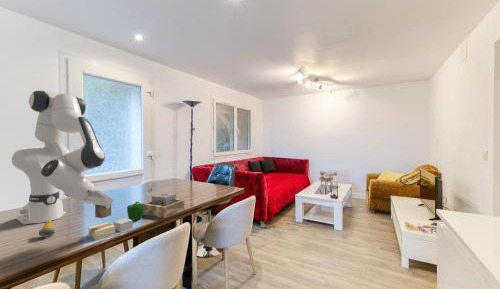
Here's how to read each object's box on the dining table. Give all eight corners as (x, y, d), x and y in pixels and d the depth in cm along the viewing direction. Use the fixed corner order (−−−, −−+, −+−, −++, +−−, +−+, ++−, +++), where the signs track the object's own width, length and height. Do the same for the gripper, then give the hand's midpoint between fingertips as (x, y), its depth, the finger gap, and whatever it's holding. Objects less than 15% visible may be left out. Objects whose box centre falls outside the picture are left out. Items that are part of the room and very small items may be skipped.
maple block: (88, 236, 103) (88, 227, 102) (107, 230, 109) (107, 222, 109) (95, 240, 98) (95, 231, 98) (115, 234, 104) (115, 226, 104)
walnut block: (95, 216, 102) (94, 199, 102) (104, 213, 107) (104, 197, 106) (101, 218, 101) (101, 200, 100) (111, 215, 105) (111, 198, 105)
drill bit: (34, 241, 97) (39, 220, 103) (49, 242, 101) (52, 222, 107) (41, 235, 96) (46, 214, 102) (56, 236, 100) (59, 216, 106)
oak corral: (142, 213, 132) (142, 203, 132) (163, 205, 147) (163, 196, 147) (164, 218, 125) (164, 207, 125) (184, 209, 141) (184, 199, 141)
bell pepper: (125, 218, 124) (125, 200, 124) (141, 215, 129) (141, 198, 129) (129, 223, 118) (129, 204, 117) (145, 219, 123) (145, 201, 123)
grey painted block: (113, 229, 110) (113, 221, 109) (125, 225, 115) (125, 217, 115) (120, 232, 107) (120, 224, 106) (132, 228, 112) (132, 220, 112)
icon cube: (176, 209, 141) (176, 193, 141) (166, 214, 132) (166, 197, 132) (162, 207, 144) (162, 192, 144) (151, 212, 135) (151, 196, 134)
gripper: (102, 185, 93) (124, 202, 102) (72, 181, 101) (95, 198, 110) (91, 199, 89) (115, 215, 98) (61, 193, 97) (85, 209, 106)
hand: (104, 206), depth 104 cm, fingers closed on walnut block, 4 cm apart
